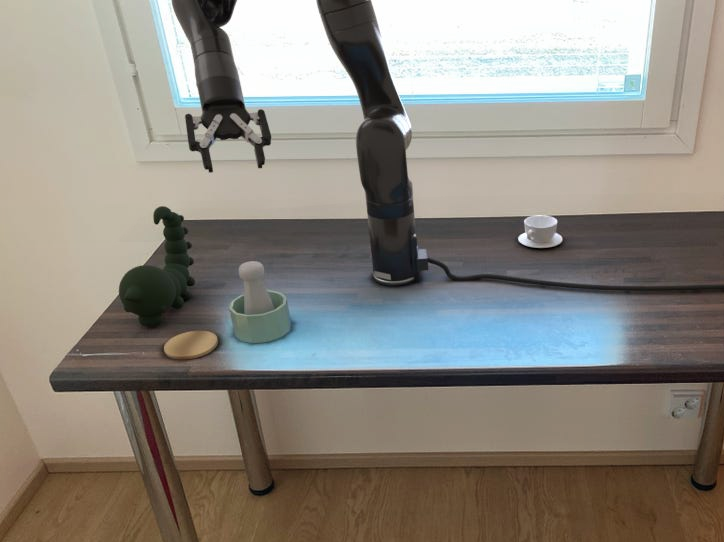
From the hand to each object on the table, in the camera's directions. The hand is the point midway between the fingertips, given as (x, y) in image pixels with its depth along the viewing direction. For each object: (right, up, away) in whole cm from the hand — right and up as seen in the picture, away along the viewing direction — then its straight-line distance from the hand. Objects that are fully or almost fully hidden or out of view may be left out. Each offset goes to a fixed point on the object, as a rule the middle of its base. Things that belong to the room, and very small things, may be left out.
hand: (236, 168), depth 132 cm
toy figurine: (-17, -24, +11) cm, 32 cm away
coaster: (-7, -32, -1) cm, 33 cm away
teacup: (+57, -7, +35) cm, 68 cm away
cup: (+4, -29, +3) cm, 29 cm away
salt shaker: (+4, -29, +3) cm, 29 cm away
